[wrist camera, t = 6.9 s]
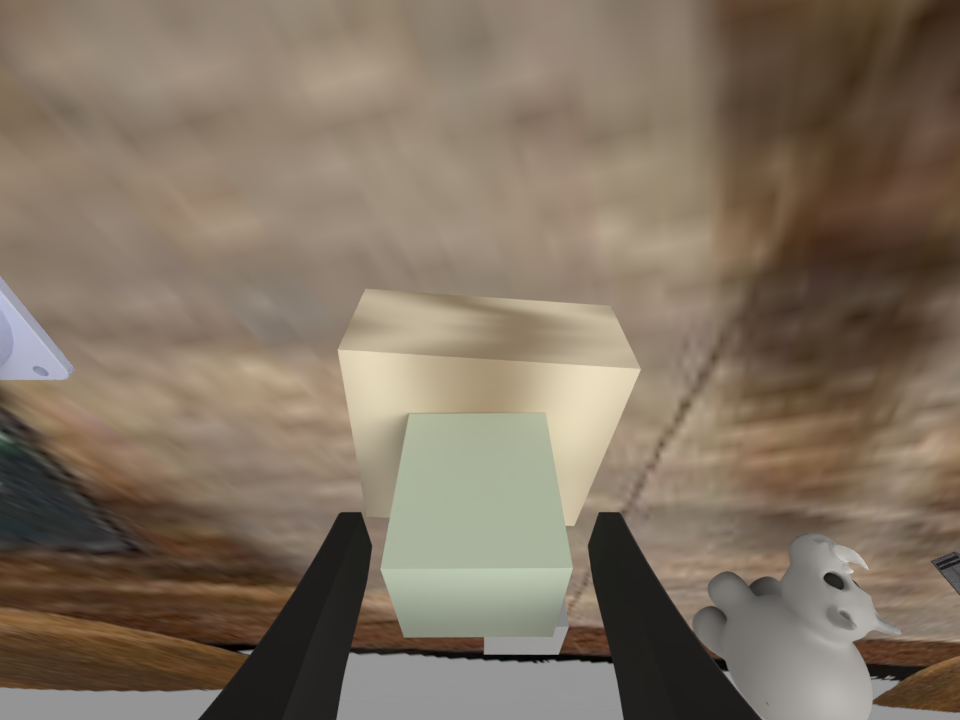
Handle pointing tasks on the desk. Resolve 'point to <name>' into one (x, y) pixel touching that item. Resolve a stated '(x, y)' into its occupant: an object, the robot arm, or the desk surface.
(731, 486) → the desk surface
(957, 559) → the mini dv tape
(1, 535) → the desk surface
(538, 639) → the grey cube
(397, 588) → the sage cube
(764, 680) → the round bodied animal figurine
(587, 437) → the birch block
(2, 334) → the robot arm
